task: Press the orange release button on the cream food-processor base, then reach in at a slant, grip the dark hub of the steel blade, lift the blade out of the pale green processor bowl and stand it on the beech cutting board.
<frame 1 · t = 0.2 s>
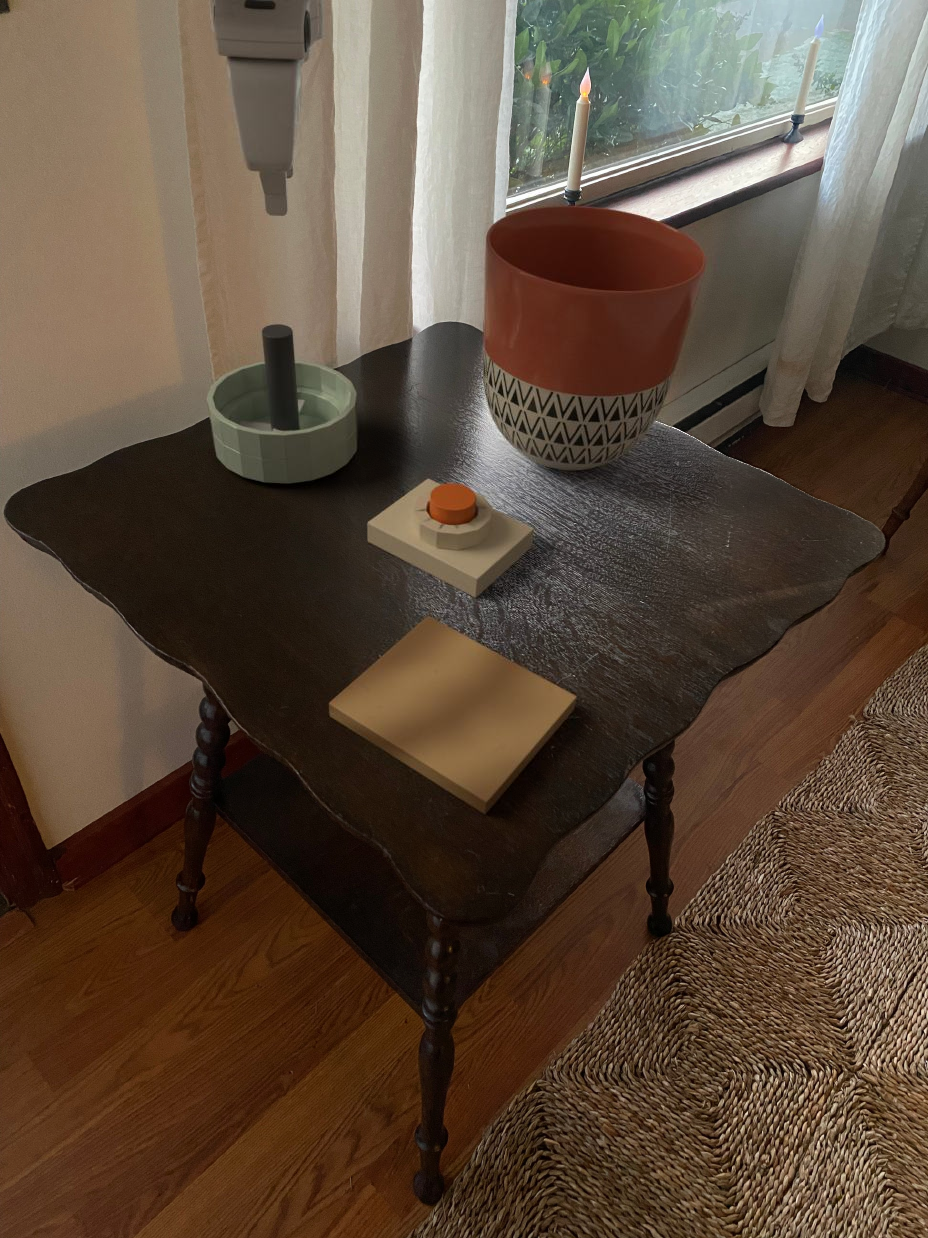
hand: (281, 193, 80), 23 cm above the table, tool pointing down, fingers open, 8 cm apart
blade: (286, 442, 91), point 1 cm above the table, touching processor bowl
release button: (452, 504, 78), point 4 cm above the table, slide at 0.1 cm
processor base: (450, 544, 81), on the table
processor bowl: (287, 447, 91), on the table
planter: (562, 453, 94), on the table
cutting board: (453, 712, 67), on the table
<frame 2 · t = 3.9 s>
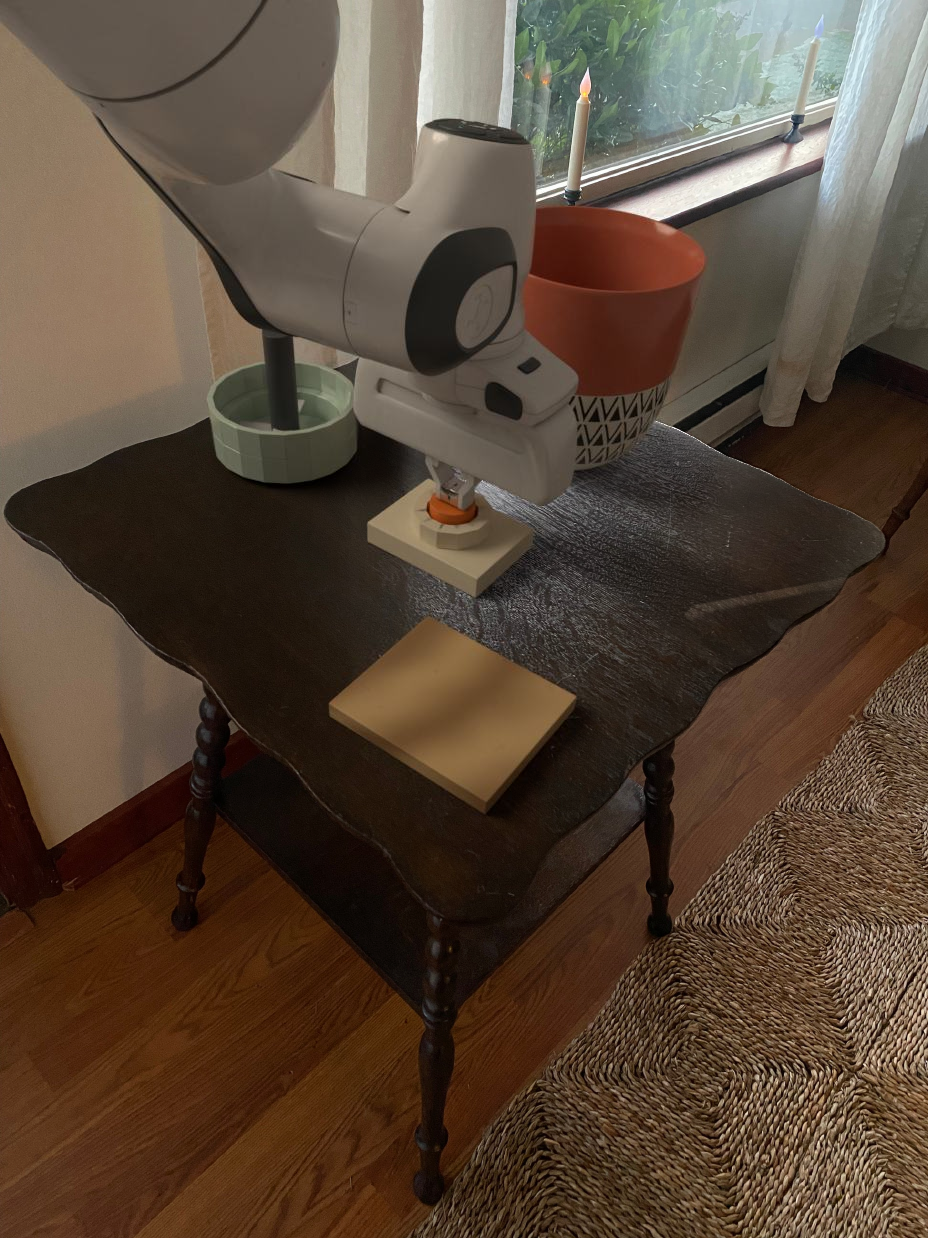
hand: (454, 501, 78), 5 cm above the table, tool pointing down, fingers closed, pressing on release button
release button: (452, 509, 79), point 4 cm above the table, slide at -0.4 cm, touching gripper
everything else where it was.
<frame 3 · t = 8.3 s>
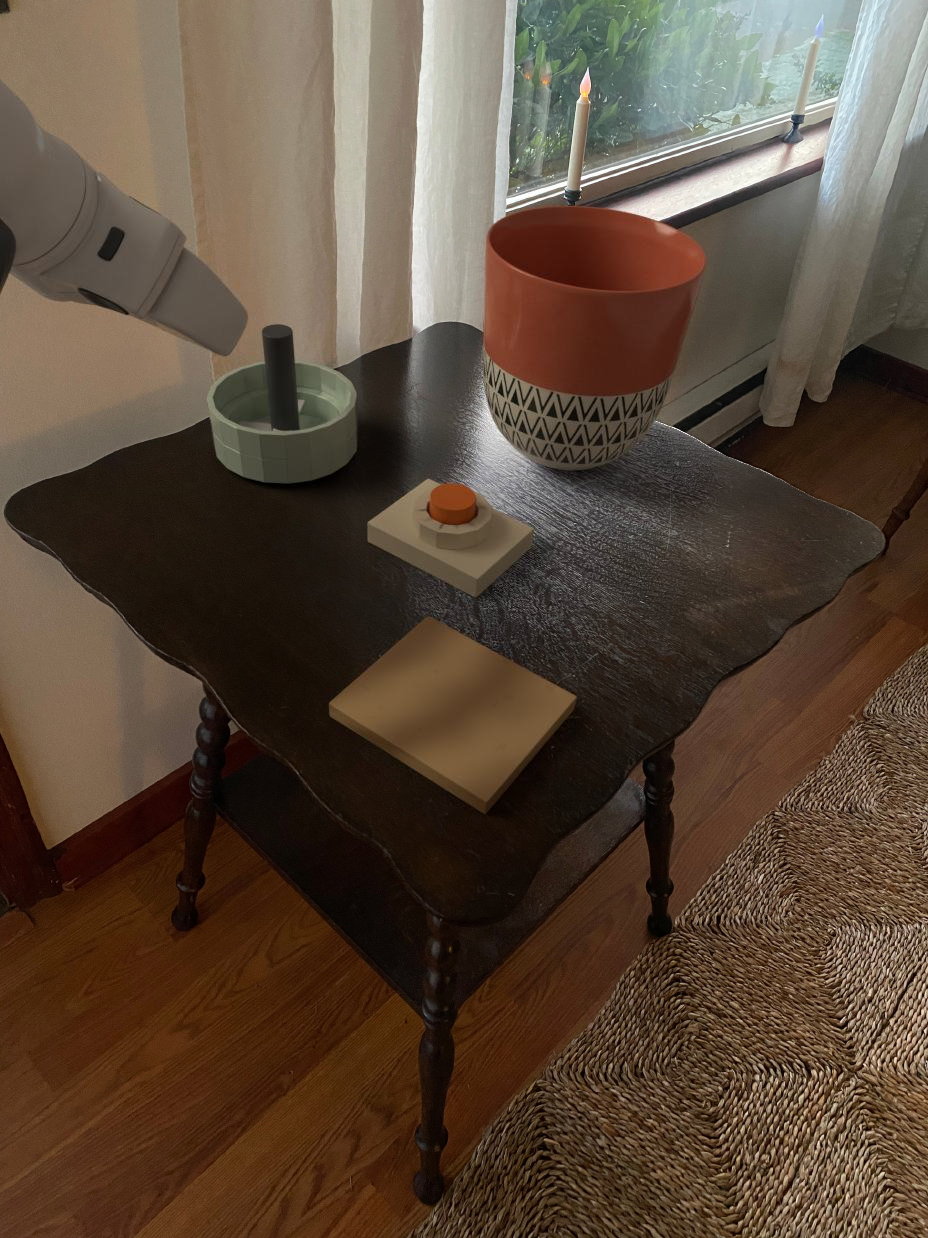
hand: (182, 328, 73), 17 cm above the table, tool tilted 40°, fingers closed
release button: (452, 504, 78), point 4 cm above the table, slide at 0.1 cm
everything else where it was.
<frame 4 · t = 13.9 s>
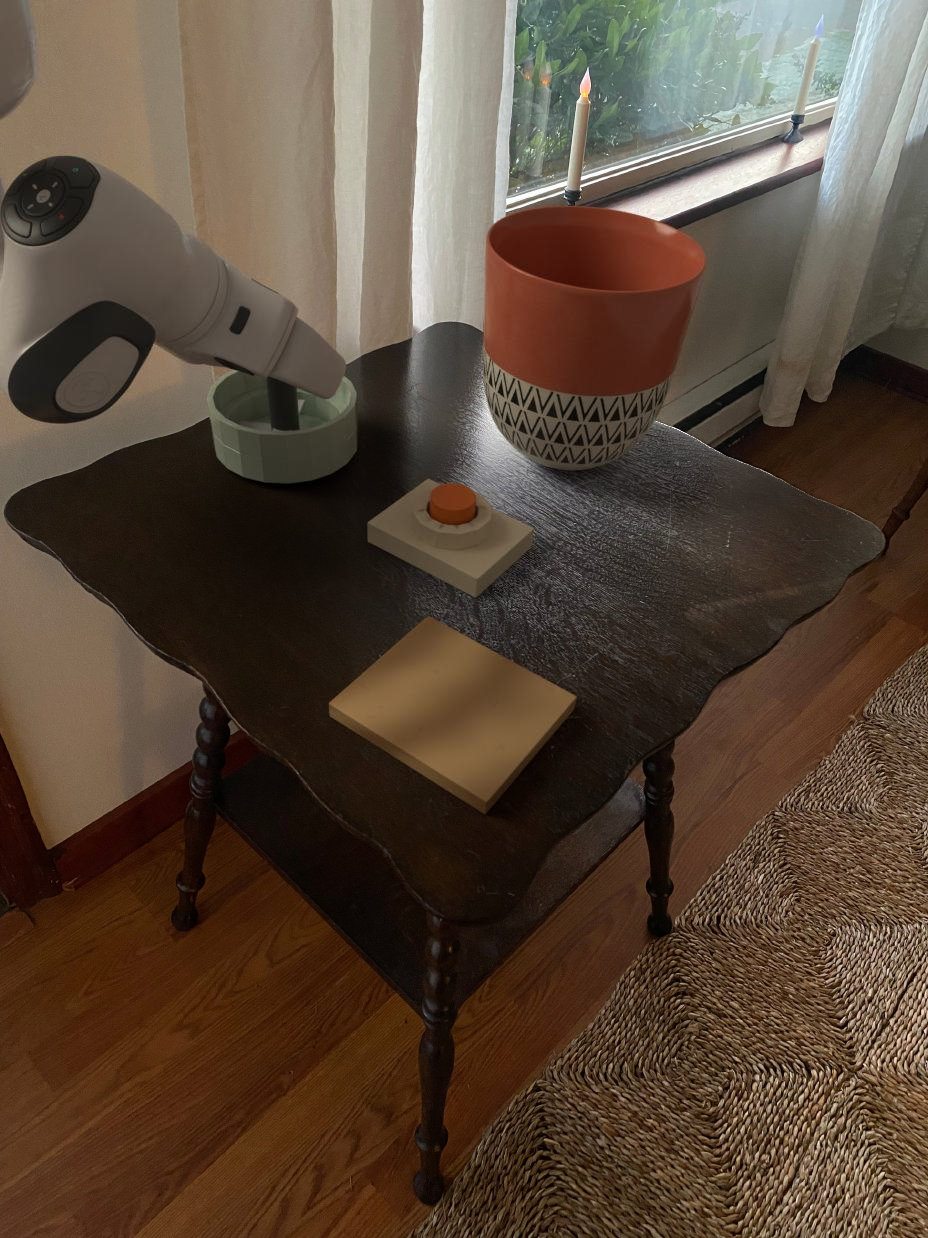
hand: (285, 369, 86), 8 cm above the table, tool tilted 45°, fingers closed on blade, 3 cm apart
blade: (286, 442, 91), point 1 cm above the table, touching gripper, processor bowl
everything else where it was.
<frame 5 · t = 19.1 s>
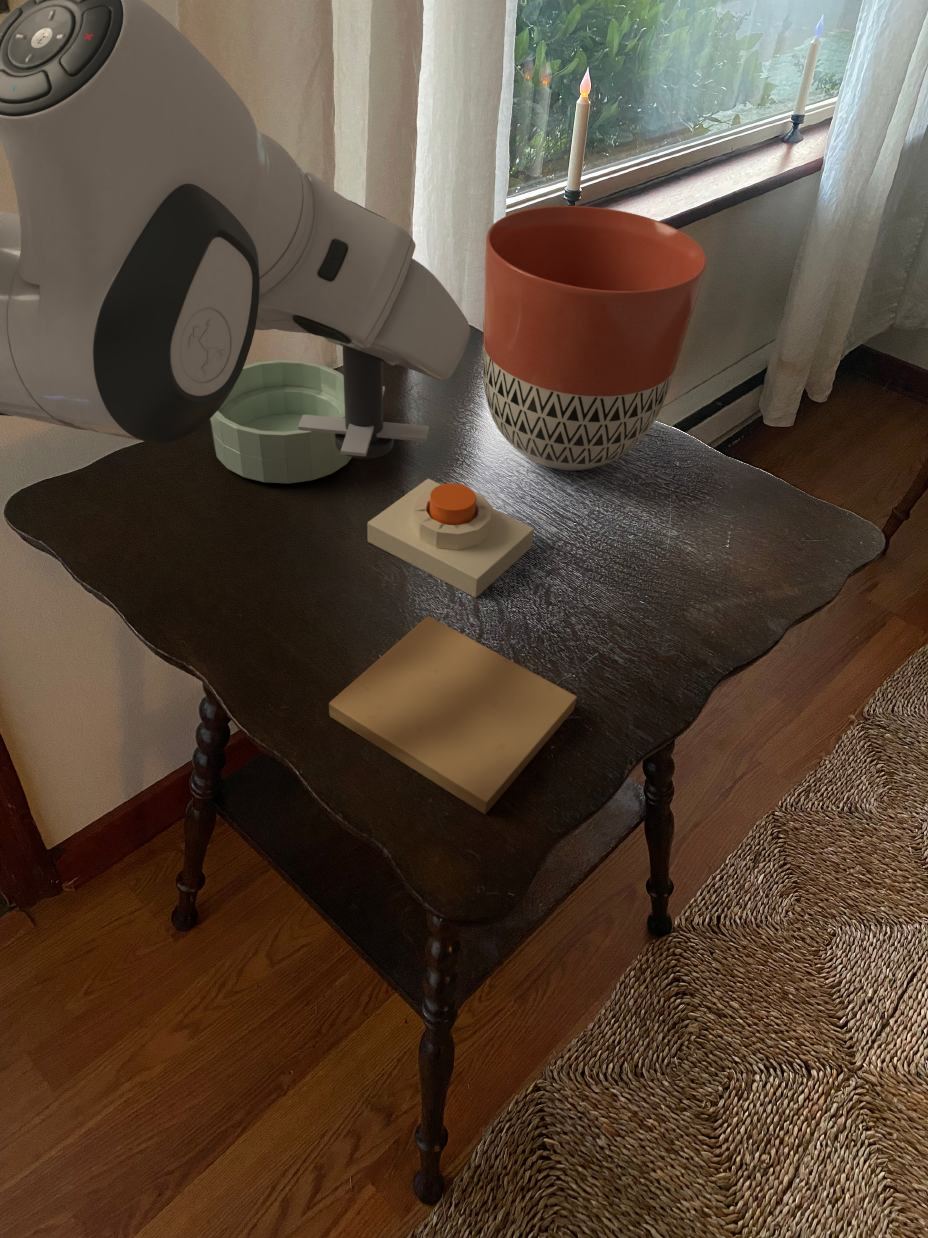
hand: (368, 343, 63), 21 cm above the table, tool tilted 45°, fingers closed on blade, 3 cm apart
blade: (364, 442, 68), point 14 cm above the table, touching gripper
everything else where it was.
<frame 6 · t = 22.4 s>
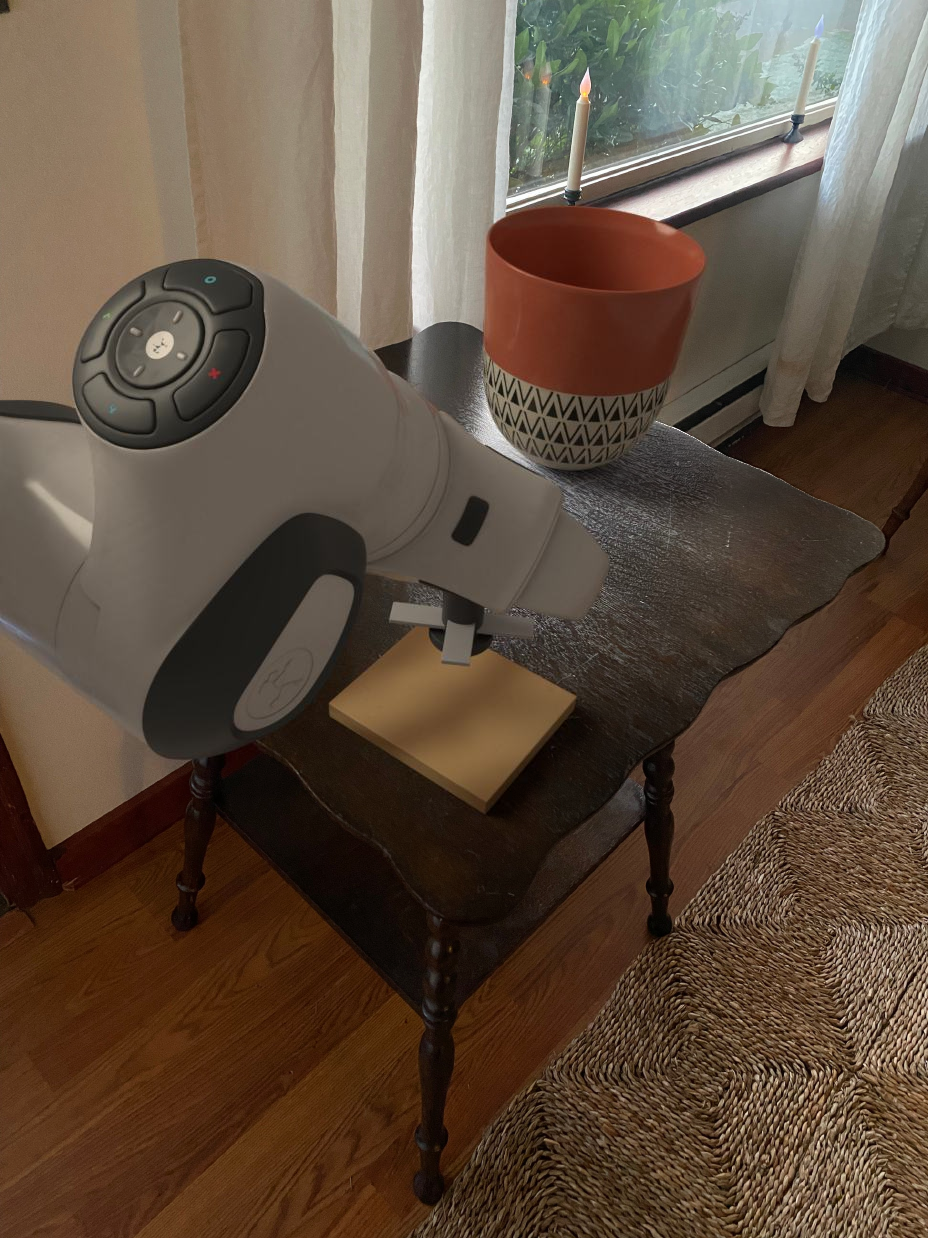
hand: (474, 539, 56), 16 cm above the table, tool tilted 45°, fingers closed on blade, 3 cm apart
blade: (461, 634, 61), point 9 cm above the table, touching gripper
everything else where it was.
when the fingers open (9 cm above the table, at t = 24.6 s): blade stays where it is, resting on cutting board.
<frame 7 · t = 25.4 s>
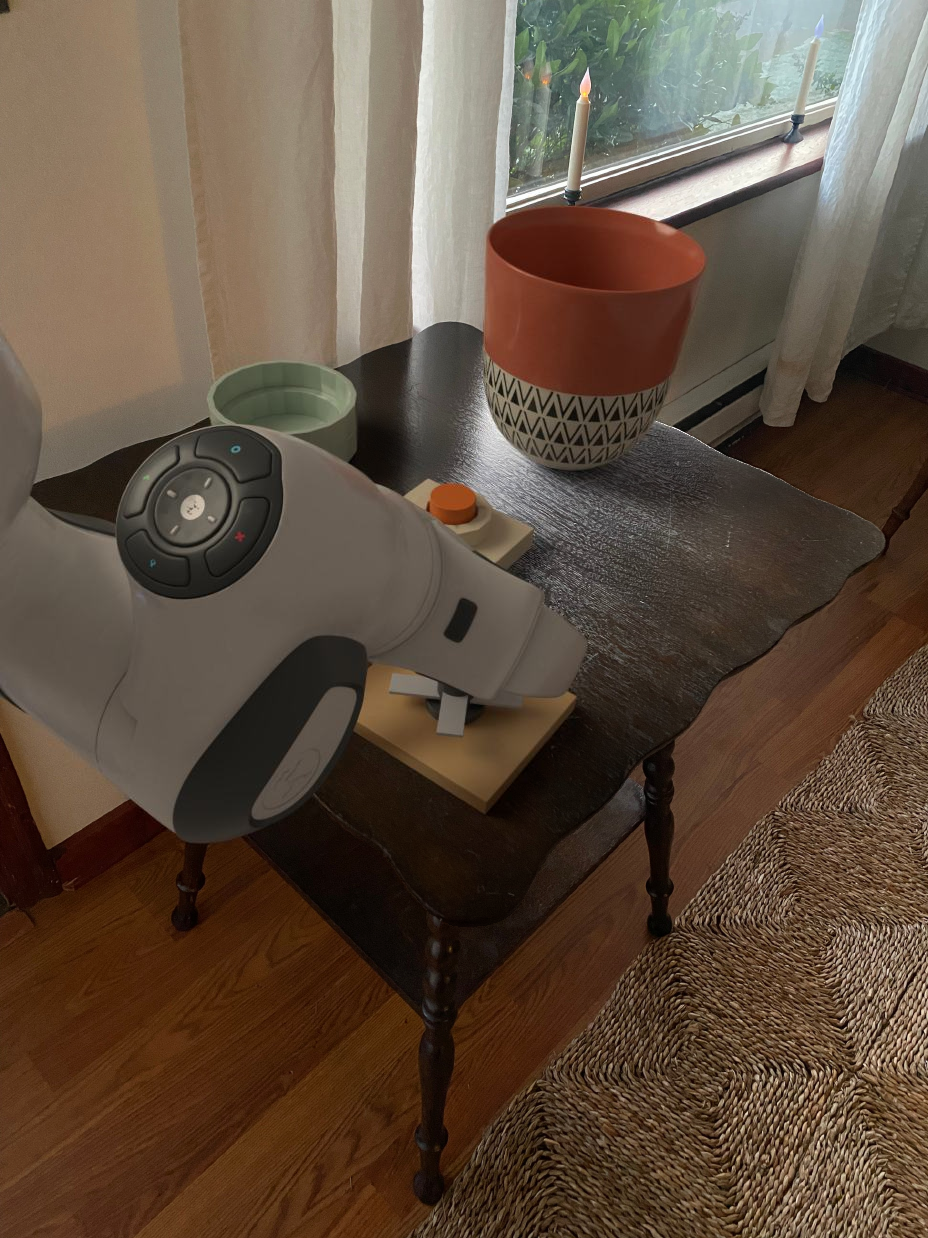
hand: (466, 611, 61), 10 cm above the table, tool tilted 45°, fingers open, 8 cm apart
blade: (455, 702, 66), point 1 cm above the table, touching cutting board
everything else where it was.
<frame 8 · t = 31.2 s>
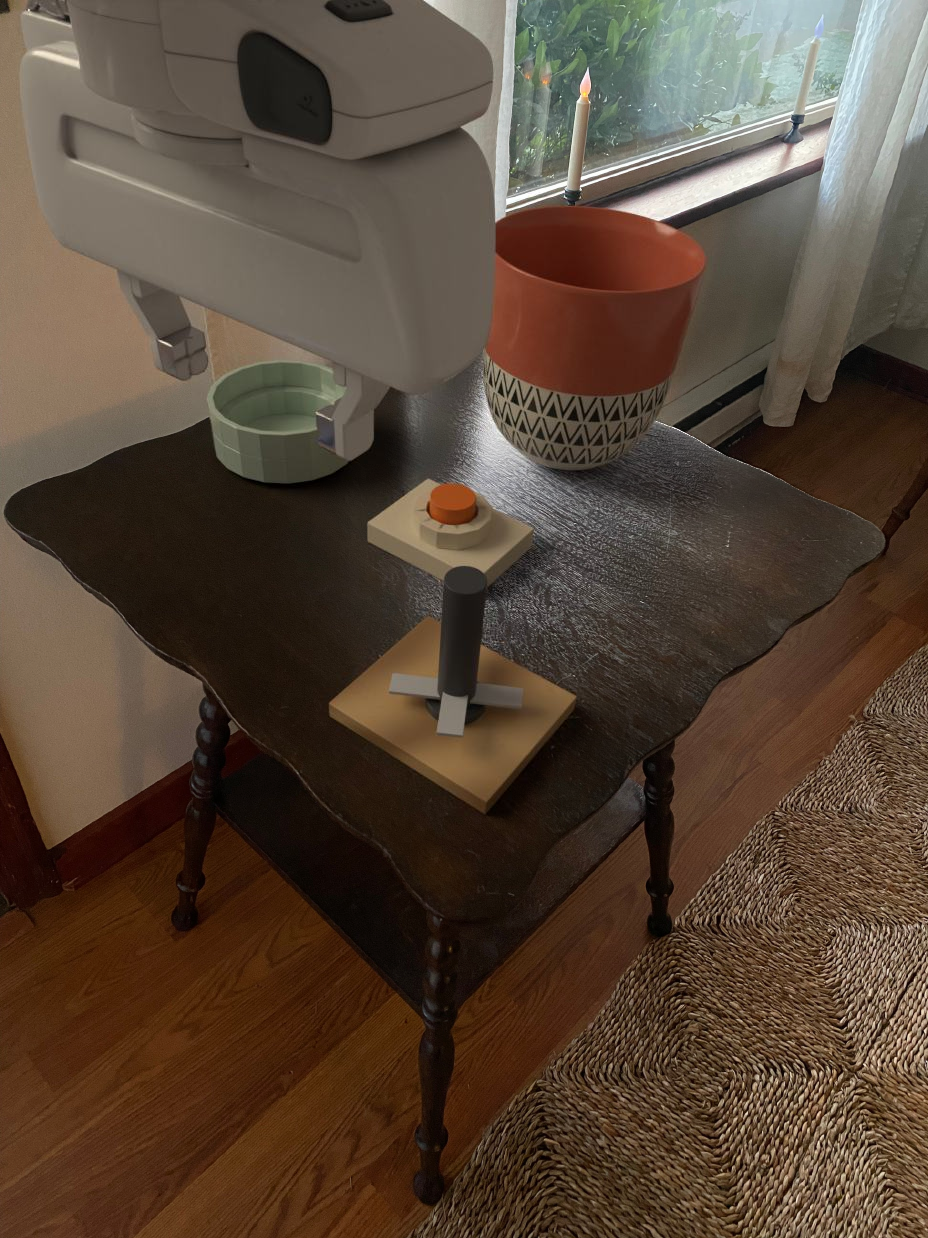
hand: (260, 408, 38), 31 cm above the table, tool pointing down, fingers open, 8 cm apart
nothing on the table moved.
at the end: release button pushed in 1.1 cm at the most during the clip, back to where it started at the end; blade inside the target area on the cutting board (0.3 cm from its centre), point 1.5 cm above the cutting board's base; blade tilted 0° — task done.
